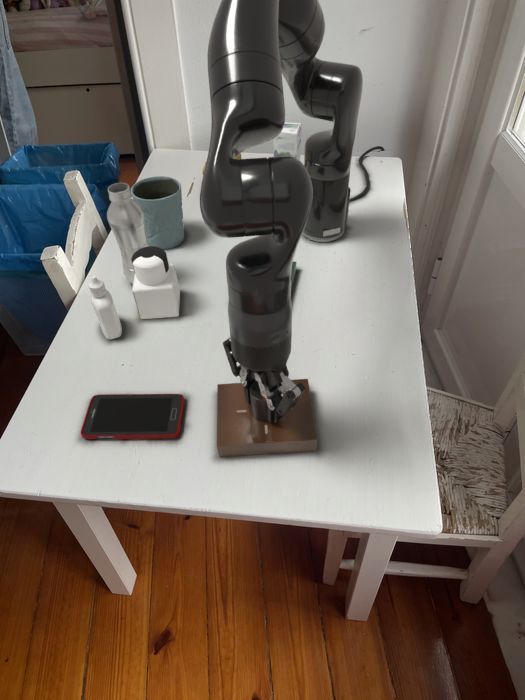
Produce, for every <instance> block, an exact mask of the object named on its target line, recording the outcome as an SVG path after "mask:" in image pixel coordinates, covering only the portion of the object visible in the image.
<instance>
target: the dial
mask: <svg viewBox="0 0 525 700" xmlns="http://www.w3.org/2000/svg"><path fill="white" fill-rule="evenodd" d="M277 396H278V395H277V394H276V395H275V396H274V398H275V397H277ZM250 402H251V413H252V415H253V416H254V417H255V418H256V419H257V420H260V421H268V417H267V406H268V404H267V401H266V398H265V397H264V396H262V395H261V391H260V387H259V384H258V381H256V380H255V381H254V382H253V383H252V384H251V386H250Z"/></svg>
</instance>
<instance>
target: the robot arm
mask: <svg viewBox="0 0 525 700" xmlns="http://www.w3.org/2000/svg"><path fill="white" fill-rule="evenodd" d="M325 32H326V21H325V15H324V12H323V9H322V6H321V4H320V2H319V0H220V3H219V6H218V9H217V11H216V14H215V16H214V20H213V22H212V27H211V30H210V34H209V39H208V44H207V75H208V87H209V99H210V113H211V128H210V138H209V139H210V141H209V148H208V153H207V158H206V161H205V162H206V166H205V170H204V175H203V174H202V180H201V186H200V191H199V209H200V214H201V218H202V220H203V222H204V224H205V226H207V228H208V230H209V231H210V232H211V233H212V234H214V235H215V236H216V237H219V238H225V239H232V238H233V239H234V238H243V237H245V238H246V237H252V238H248V239H245V240H243V241H241V242H239V243H238V244H236V245H234V246H233V247H232V248H230V250H229V252H228V253H227V256H226V258H225V274H226V284H227V295H228V304H227V317H228V326H229V336H230V337H228V338H227V339H225V340H224V341H223V342H222V346H223V349H224V352H225V355H226V358H227V362H228V363H229V367H230V370H231V373H232V375H233V376H234V377H235V378H237V377H239V378H240V380H239V383H241V384H242V385H243V386H244V394H245V399H246V402H248V403H249V404H251V402H250V386H251V384H252V383H253V382H254V381H255V380H256V381H258V384H259V387H260V391H261V395H262V396H264V397H265V398H266V401H267V404H268V406H267V417H268V421H269V422H270V423H274V422H275V423H276V422H277V421H278V420H279V419H281V418H282V417H283V416H284V414H285V413H286V412H288V411H289V410H290V409H291V408H293V407H294V406H295V405H296V404H297V402H298V401H299V399H300V397H301V396H302V394H303V392H304V391H305V387H304V385H303V384H302V383H298V384H297V385H296V384H294V383H293V382H292V381H291V380H292V379H291V378H290V377H289V376H290V372H289V369H288V365H287V363H288V360H289V358H290V356H291V352H292V336H293V333H292V332H293V303H292V295H291V294H292V293H291V292H292V288H291V268H292V263H293V261H294V258H295V255H296V251H297V248H298V246H299V243H300V240H301V237H302V236H304V237H305V238H306V239H308V240H310V241H312V242H315V243H331V242H334V241H337V240H339V239H341V238H342V237H343V235H344V233H345V229H346V228H347V227H348V226H347V225H348V217H349V216H348V215H349V207H350V203H351V202H353V201H356V200H358V199H360V198H361V197H363V196H364V195H365V194H366V193H367V192H368V190H369V188H370V178H369V173H368V170H367V168H366V167H365V165H364V163H363V162H362V161H363V158H364V157H365V156H367V155H368V154H370V153H371V152H373V151H374V150H381V151H385V147H383V146H381V145H377V146H372V147H371V148H369V149H368V150H366V151H364V152H363V153H362V154H361V155H360V156H359V158H358V164H359V166H360V167H361V170H363V173H364V178H365V187H364V190H363V191H362V192H360V193H359V194H357V195H356V196H354V197H352V198H351V191H352V190H351V188H350V178H351V177H350V176H351V166H352V159H353V149H354V144H355V139H356V135H357V134H356V133H357V125H358V118H359V113H360V107H361V102H362V101H361V100H362V94H363V85H364V81H363V80H364V79H363V72H362V69H361V68H360V67H359V66H358V65H355V64H349V63H345V62H344V63H342V62H336V61H330V60H323V59H320V58H318V57H317V54H318V52H319V51H320V49H321V46H322V43H323V41H324V37H325ZM283 78H284V80H285V81H286V83H287V86H288V87H289V90H290V92H291V94H292V97H293V99H294V101H295V103H296V105H297V107H298V109H299V111H300V112H301V113H302V114H303V115H305V116H307V117H309V118H312V119H316V120H322V121H328V122H332V123H333V126H332V128H331V129H326V130H321V131H318V132H315V133H313V134H311V135H310V136H308V137H307V139H306V140H305V143H304V153H303V154H304V158H303V162H302V161H301V160H300V161H299V160H298V159H296V158H293V157H288V156H279V157H274V156H269V157H253V158H251V157H250V158H241V159H236V158H237V157H238V155H239V154H240V153H242V152H243V153H244V151H246V150H249V149H251V148H253V147H254V148H255V147H257V146H260V145H263V144H265V143H268V142H271V141H272V140H273V138H275V137H276V136H278V135H279V134H280V132H281V131H282V129H283V127H284V123H285V122H286V107H285V96H284V85H283ZM237 363H238V364H239V365H238V364H237ZM276 394H277V395H278V396H277V397H275V398H274V396H275V395H276Z"/></svg>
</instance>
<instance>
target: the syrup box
mask: <svg viewBox="0 0 525 700" xmlns="http://www.w3.org/2000/svg"><path fill="white" fill-rule="evenodd" d="M272 140H273V142H272V143H273V157H279V156H288V157H293V158H296V159H298V160H299V161H300V162H301V150H302V149H301V146H302V123H301V122H291V121H290V122H289V121H285V123H284V127H283V129H282V131H281V132H280V134H279V135H278V136H276V137H275V138H273V139H272Z"/></svg>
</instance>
